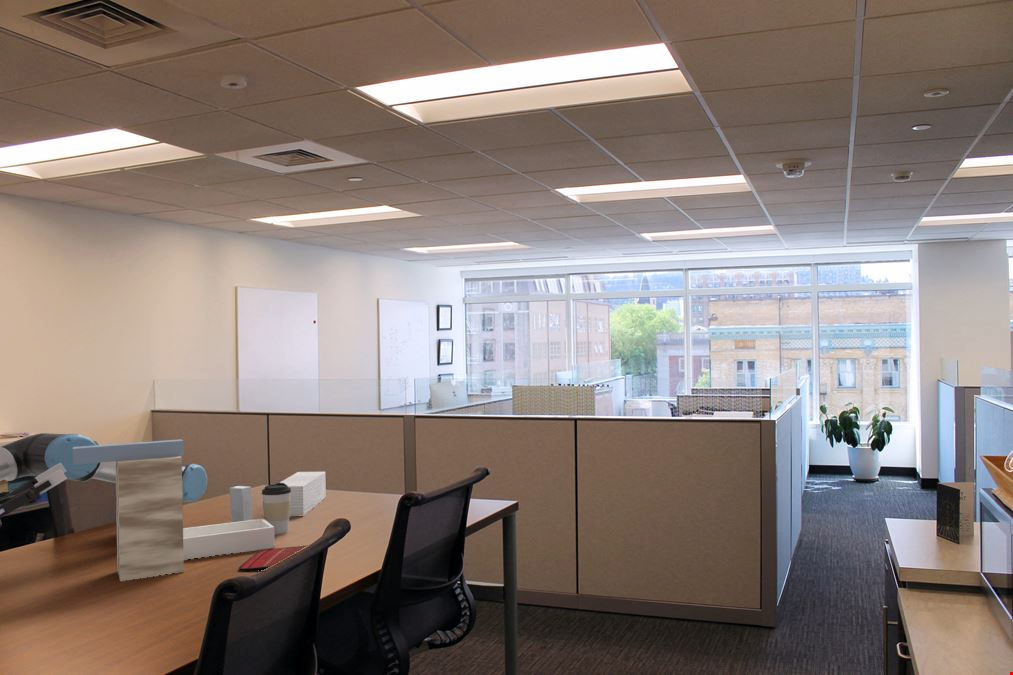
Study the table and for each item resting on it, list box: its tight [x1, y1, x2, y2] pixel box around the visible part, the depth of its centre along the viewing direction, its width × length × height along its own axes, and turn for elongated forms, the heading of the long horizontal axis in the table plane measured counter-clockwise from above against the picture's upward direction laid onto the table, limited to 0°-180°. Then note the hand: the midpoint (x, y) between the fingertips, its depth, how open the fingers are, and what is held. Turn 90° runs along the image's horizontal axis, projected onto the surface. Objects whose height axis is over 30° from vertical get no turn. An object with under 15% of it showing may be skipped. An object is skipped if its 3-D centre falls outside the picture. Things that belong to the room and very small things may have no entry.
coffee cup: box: [261, 482, 291, 535], centre depth 254 cm, size 9×9×15 cm
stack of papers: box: [279, 471, 327, 516], centre depth 293 cm, size 32×11×11 cm, turn 179°
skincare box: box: [229, 485, 254, 523], centre depth 268 cm, size 6×4×12 cm
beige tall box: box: [115, 456, 185, 582], centre depth 211 cm, size 11×15×30 cm
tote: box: [183, 518, 276, 561], centre depth 232 cm, size 14×33×6 cm, turn 119°
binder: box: [238, 544, 309, 573], centre depth 220 cm, size 16×2×21 cm
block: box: [73, 438, 185, 465], centre depth 209 cm, size 4×26×4 cm, turn 120°
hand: (63, 470), depth 201 cm, fingers open, 13 cm apart
